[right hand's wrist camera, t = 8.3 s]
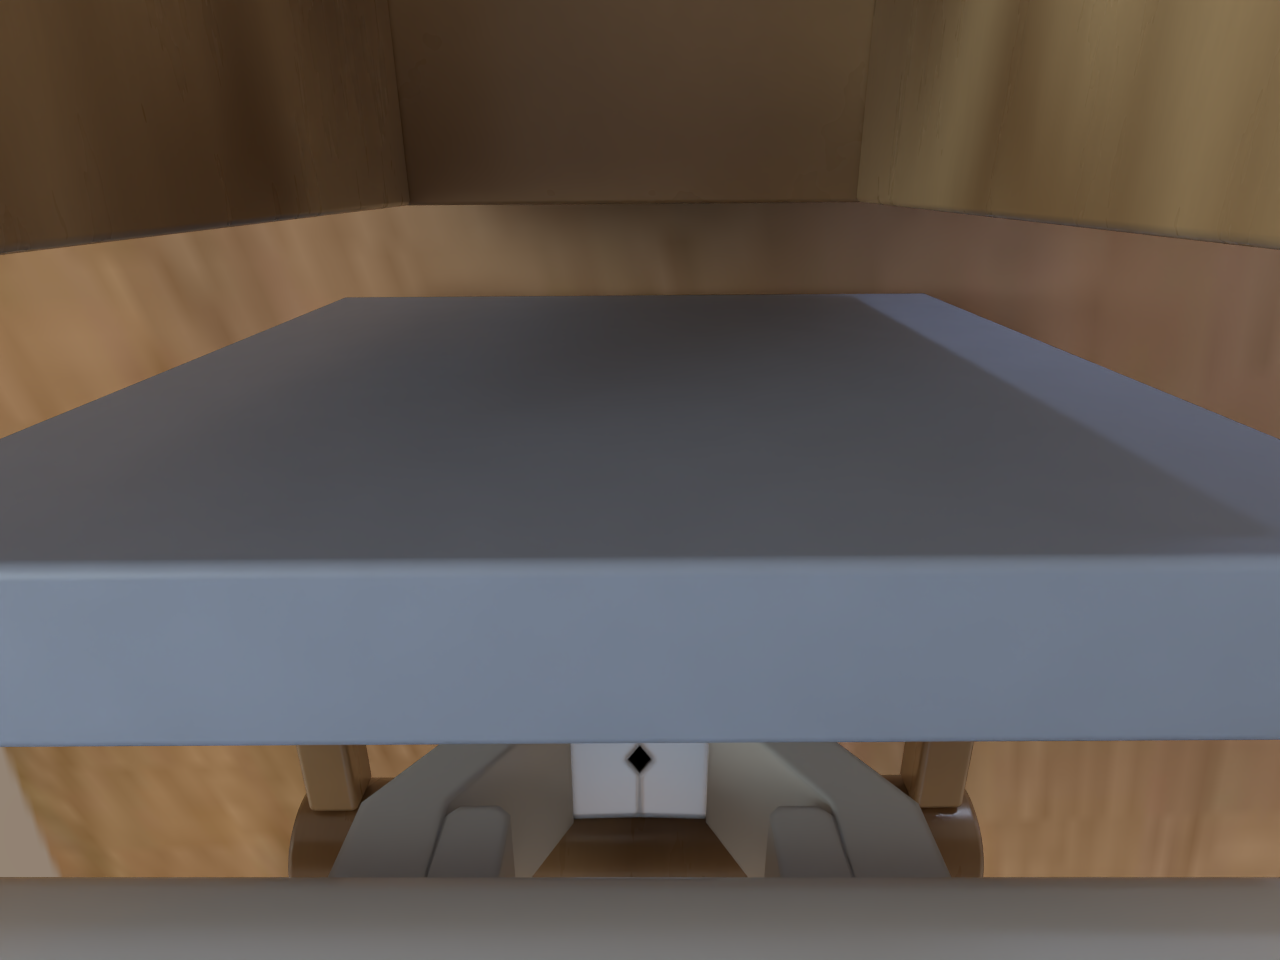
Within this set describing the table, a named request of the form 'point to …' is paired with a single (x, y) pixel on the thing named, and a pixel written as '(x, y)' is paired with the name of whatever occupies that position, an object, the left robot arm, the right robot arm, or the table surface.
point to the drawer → (637, 400)
